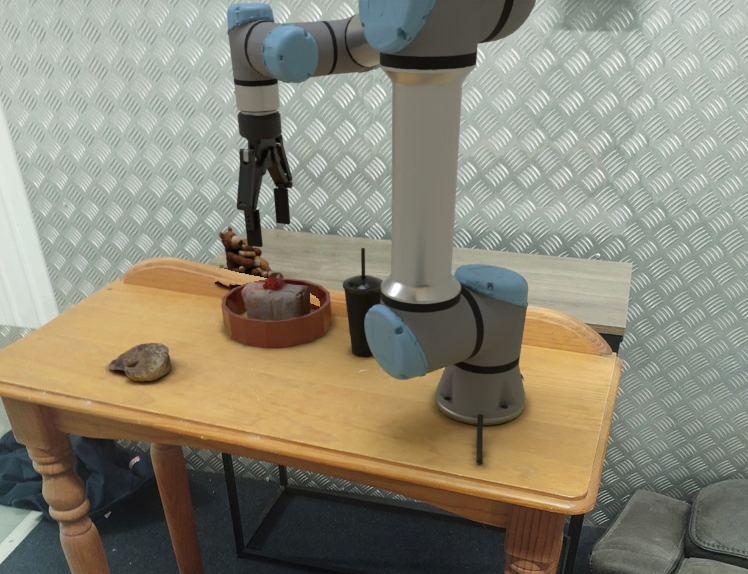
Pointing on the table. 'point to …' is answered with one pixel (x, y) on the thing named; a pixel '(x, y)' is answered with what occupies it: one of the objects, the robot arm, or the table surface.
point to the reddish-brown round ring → (276, 330)
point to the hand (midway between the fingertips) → (269, 234)
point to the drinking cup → (361, 306)
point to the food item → (275, 299)
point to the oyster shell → (144, 362)
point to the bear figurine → (244, 257)
